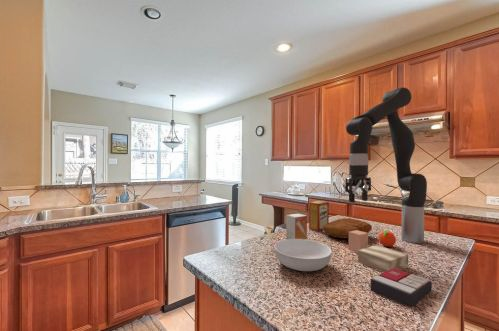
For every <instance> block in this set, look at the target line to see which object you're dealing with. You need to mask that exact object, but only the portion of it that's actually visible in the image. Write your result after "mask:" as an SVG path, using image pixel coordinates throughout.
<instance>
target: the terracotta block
mask: <svg viewBox="0 0 499 331" xmlns="http://www.w3.org/2000/svg"><path fill="white" fill-rule="evenodd" d="M368 247H369V232H368V233H366V232H362V231H358V230H355V231H350V232H349V238H348V250H349V251H351V252H353V251H354V253H357V254H358V250H361V249H364V248H368Z"/></svg>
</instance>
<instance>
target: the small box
mask: <svg viewBox="0 0 499 331" xmlns="http://www.w3.org/2000/svg"><path fill="white" fill-rule="evenodd" d="M285 221H286V222H285V225H286V227H285V231H286V232H285V233H286V234H285V240H287V239H306V240H308V234H307V233H308V215H307V214H303V213H302V214H301V213H293V214H286V217H285Z"/></svg>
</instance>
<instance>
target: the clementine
mask: <svg viewBox="0 0 499 331" xmlns="http://www.w3.org/2000/svg"><path fill="white" fill-rule="evenodd" d="M378 240H379V243H380V244H381V246H383V247H385V248H387V247H388V248H390V247H393V246H394V245H395V244H396V242H397V239H396V235H395V234H394V233H392V232H391V231H388V230H384V231H382V232H380V233H379V235H378Z"/></svg>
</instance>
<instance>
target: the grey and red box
mask: <svg viewBox="0 0 499 331" xmlns="http://www.w3.org/2000/svg"><path fill="white" fill-rule="evenodd" d="M432 284H433V283H432V281H431V280H430V279H428V278H425V277H422V276H419V275H416V274H413V273H411V274H410V272H407V271H403V270H398V269H395V268H393V269H391V270H389V271H386V272H381V273H380V274H379V275H377V276H375V277H373V278H370V289H369V290H370V291H371V292H372V293H375V294H378V295H379V296H382V297H384V298H386V299H389V300H391V301H393V302H396V303H398V304H400V305H403V306H405V307H408V308H410V309H412V308H414V307H415V306H416V305H417V304H418V303H419V302H420V301H421V300H422V299H424V298H425V297H426V296H428V295H429V294H430V293H431V292H432V286H433V285H432Z"/></svg>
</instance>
